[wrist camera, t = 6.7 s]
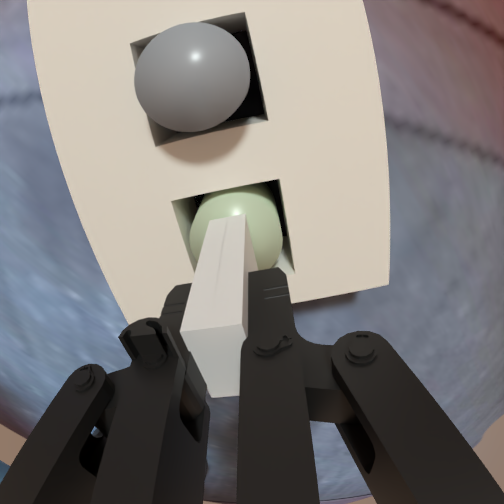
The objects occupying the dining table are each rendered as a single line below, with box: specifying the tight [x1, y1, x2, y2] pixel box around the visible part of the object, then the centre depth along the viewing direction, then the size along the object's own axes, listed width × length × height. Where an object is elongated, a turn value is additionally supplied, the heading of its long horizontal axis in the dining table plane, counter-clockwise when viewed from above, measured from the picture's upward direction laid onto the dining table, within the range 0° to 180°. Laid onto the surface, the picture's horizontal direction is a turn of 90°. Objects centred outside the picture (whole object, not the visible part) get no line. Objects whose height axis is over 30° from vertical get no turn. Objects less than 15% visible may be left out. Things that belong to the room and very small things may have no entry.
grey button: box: [134, 22, 250, 132], centre depth 11 cm, size 4×4×4 cm
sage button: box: [189, 182, 283, 270], centre depth 15 cm, size 4×4×4 cm
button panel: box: [27, 0, 390, 325], centre depth 12 cm, size 22×14×4 cm, turn 11°
